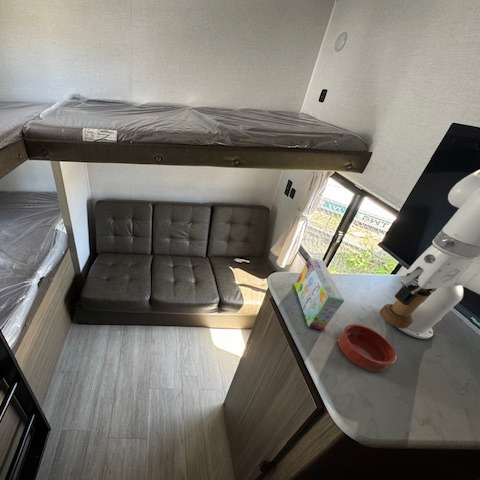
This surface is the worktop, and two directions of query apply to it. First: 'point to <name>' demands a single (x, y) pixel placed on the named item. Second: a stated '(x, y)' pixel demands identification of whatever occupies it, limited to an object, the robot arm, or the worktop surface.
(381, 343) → the bowl
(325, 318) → the snack box
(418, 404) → the worktop surface
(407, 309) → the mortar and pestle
